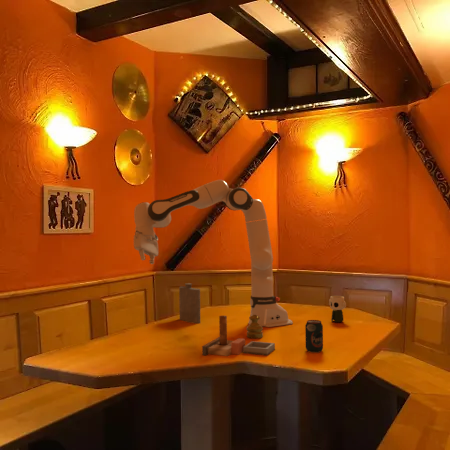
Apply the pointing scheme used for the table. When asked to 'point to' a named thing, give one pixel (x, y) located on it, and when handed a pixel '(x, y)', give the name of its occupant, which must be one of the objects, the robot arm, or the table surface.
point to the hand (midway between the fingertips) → (147, 261)
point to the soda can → (314, 336)
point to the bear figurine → (337, 307)
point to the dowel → (223, 330)
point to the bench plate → (220, 349)
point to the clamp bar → (205, 347)
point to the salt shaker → (254, 328)
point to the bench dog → (237, 346)
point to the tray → (259, 348)
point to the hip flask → (189, 304)
